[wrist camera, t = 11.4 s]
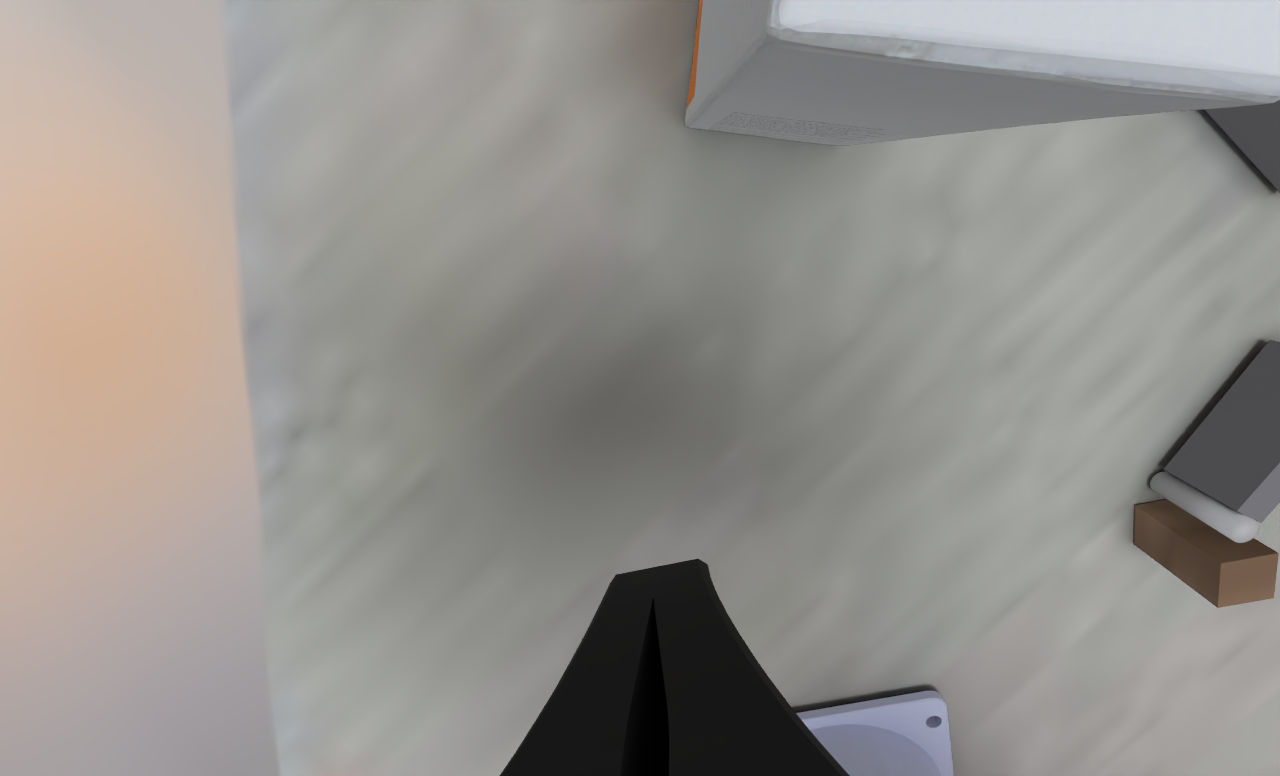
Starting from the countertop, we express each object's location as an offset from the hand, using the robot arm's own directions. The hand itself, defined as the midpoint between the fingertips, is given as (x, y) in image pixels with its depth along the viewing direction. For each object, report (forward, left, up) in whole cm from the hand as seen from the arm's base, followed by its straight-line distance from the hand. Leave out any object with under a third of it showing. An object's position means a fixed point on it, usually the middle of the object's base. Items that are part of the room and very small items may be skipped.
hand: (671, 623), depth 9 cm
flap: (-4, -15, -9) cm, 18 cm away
